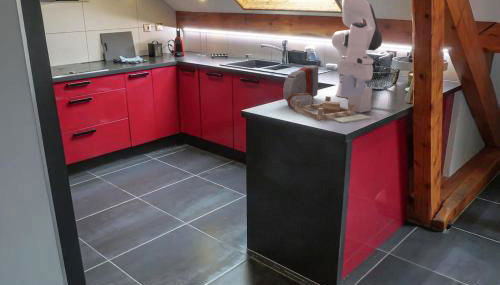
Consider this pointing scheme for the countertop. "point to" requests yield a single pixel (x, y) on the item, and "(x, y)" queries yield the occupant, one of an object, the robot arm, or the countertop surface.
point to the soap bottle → (361, 100)
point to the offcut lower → (331, 110)
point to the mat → (351, 118)
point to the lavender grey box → (351, 86)
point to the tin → (303, 97)
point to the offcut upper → (330, 105)
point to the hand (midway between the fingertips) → (353, 86)
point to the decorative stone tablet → (302, 82)
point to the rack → (319, 115)
